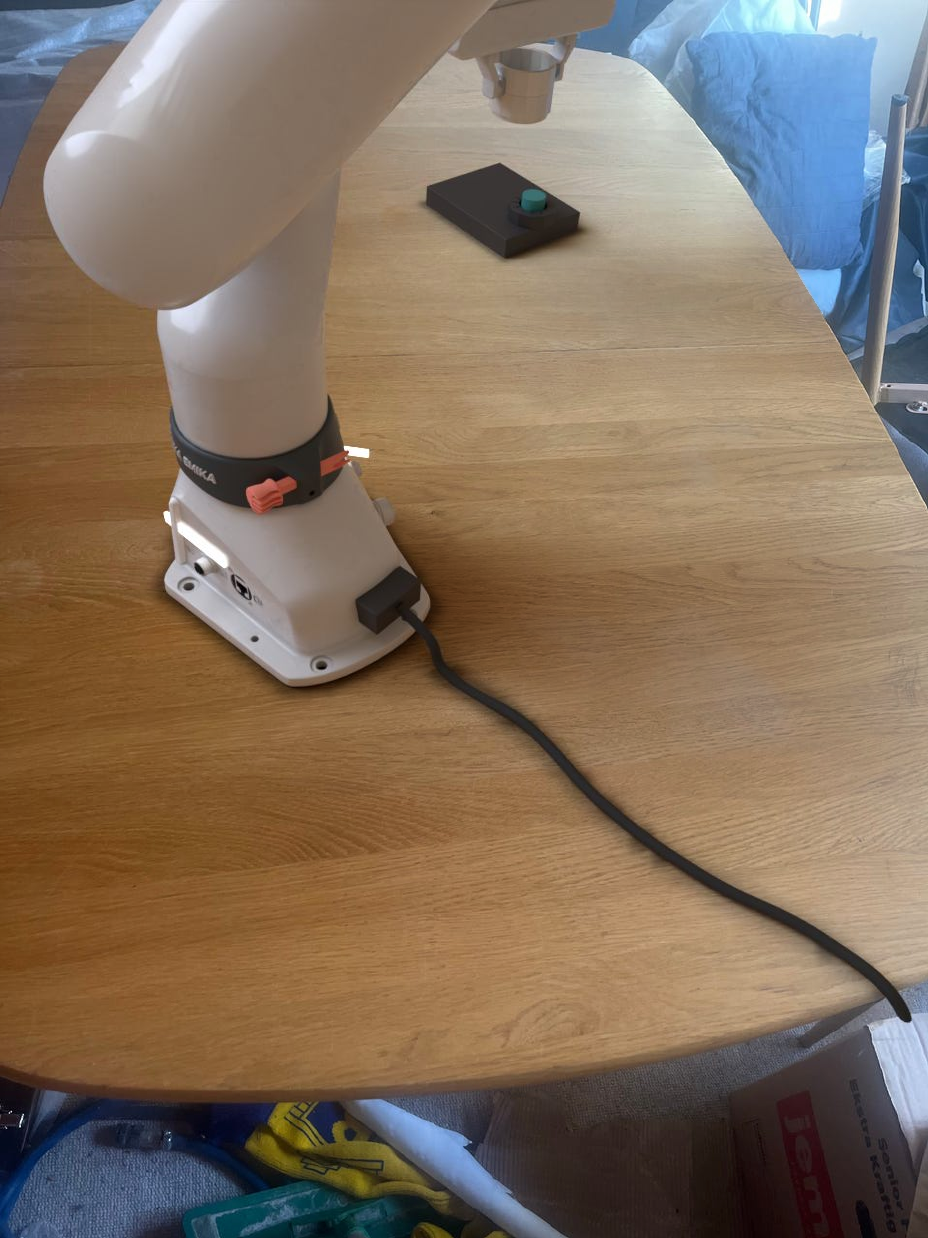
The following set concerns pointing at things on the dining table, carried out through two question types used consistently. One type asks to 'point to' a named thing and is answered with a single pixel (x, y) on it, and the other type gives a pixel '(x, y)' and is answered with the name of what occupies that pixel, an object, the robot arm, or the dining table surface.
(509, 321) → the dining table surface
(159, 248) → the robot arm
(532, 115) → the white cup
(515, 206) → the black flat block
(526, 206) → the button
